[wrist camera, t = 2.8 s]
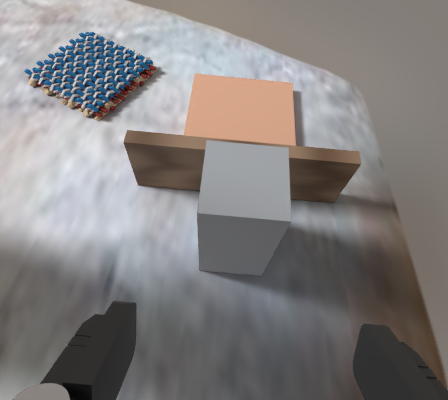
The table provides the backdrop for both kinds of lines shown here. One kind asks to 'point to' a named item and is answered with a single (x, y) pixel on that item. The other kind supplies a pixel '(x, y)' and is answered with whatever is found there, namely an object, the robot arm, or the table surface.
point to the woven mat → (92, 74)
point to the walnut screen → (195, 146)
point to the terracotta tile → (241, 110)
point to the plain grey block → (242, 206)
